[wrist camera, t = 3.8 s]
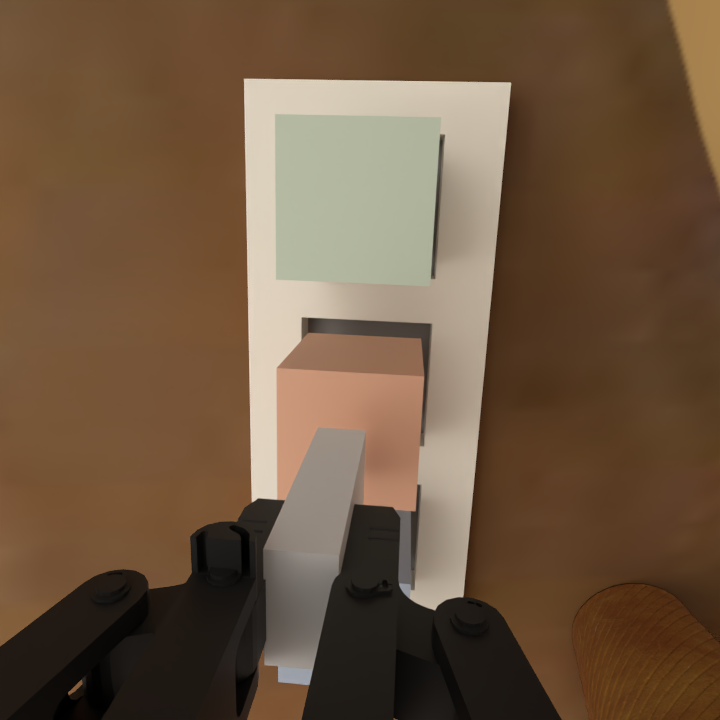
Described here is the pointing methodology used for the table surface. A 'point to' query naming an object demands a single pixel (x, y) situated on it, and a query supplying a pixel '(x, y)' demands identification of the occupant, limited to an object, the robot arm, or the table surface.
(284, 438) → the terracotta block
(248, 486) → the table surface
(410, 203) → the sage block
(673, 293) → the table surface
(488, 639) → the robot arm
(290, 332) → the board
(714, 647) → the disposable coffee cup
